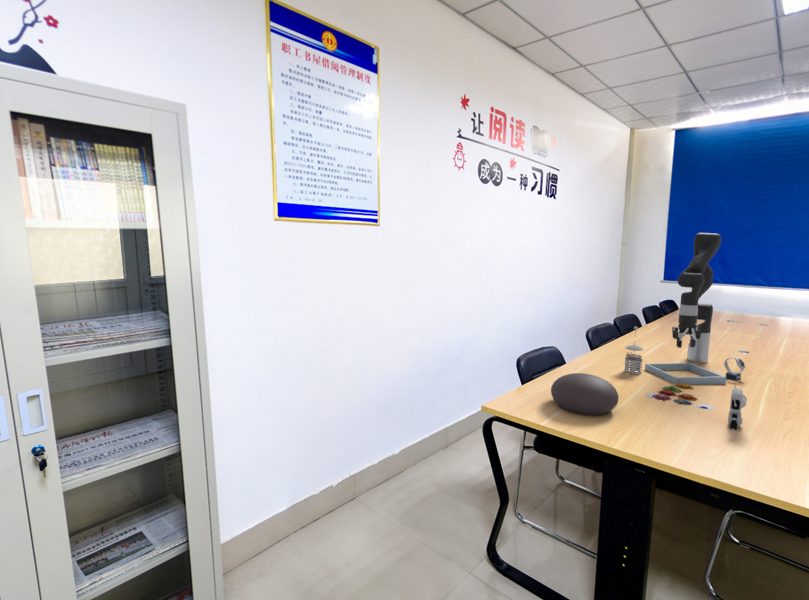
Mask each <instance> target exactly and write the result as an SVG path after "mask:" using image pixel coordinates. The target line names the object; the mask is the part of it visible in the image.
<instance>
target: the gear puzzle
mask: <svg viewBox="0 0 809 600" xmlns="http://www.w3.org/2000/svg"><path fill="white" fill-rule="evenodd" d="M661 389H662V390H659V391H657V394H653V395H651V397H652V398H655V399H654V400H657V401H659V400H663V401H662V402H666V401H671V400H672V401H673V403H676V404H679V405H683V406H692V405H693V402H697V401H699V399H697V397H695V396H694V395H692V394H690V393H682V392H683V391H682V390H691V391H692V390H695V388H694V387H693V386H691V384H683V383H682V384H681V383H680V384H674V385H670V386H664V387H661ZM680 393H681V394H680ZM671 397H677V399H676V398H674V399H672V398H671Z"/></svg>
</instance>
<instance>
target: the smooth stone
mask: <svg viewBox="0 0 809 600" xmlns="http://www.w3.org/2000/svg"><path fill="white" fill-rule="evenodd" d="M550 392H551V393H550V394H551V397H552V399H553V400H554V401H555V403H556V404H557V405H559V406H560V407H561V408H563V409H564V410H566V411H569V412H572V413H573V414H574V413H575V414H578V415H579V414H580V415H586V416H599V415H604V414H607V413H609V412H611V411H612V410H614V408H616V407H617V404H618V403H619V393H618V391H617V389H616V387H614V385H612V383H611V382H609V381H607V380H606V379H605V378H602V377H600V376H597V375H593V374H589V373H583V372H577V373H576V372H575V373H569V374H564V375H562V376H560V377H558V378H557V379H555V380H554V382H553V383H552V385H551V387H550Z"/></svg>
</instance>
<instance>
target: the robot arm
mask: <svg viewBox="0 0 809 600" xmlns="http://www.w3.org/2000/svg"><path fill="white" fill-rule="evenodd" d="M721 244H722V236H721V234H719V233H711V232H698V233H696V234H695V235H694V240H693V258H692V259H691V260H690V263H689V264H688V266H687V267H686V268H684V270H683V271H682V272H681V273H680V274H679V275H678V277H677V283H678V285H679V287H682V288H691V291H686V292H685V291H684V292H682V293H680V294H681V295H680V305H679V308H678V309H679V311H678V325H677V326H672V327H671V330H672V332H671V333H672V339H675V340H676V342H675V343H676V347H677V348H679V349H682V345H683V338H684V337H685V336H686V335H688V336H689V342H688V343H687V344H688V346H687V357H686V359H687V360H688V361H690V362H694V363H701V364H702V363H704V364H706V363H708V362H709V356H710V355H709V353H710V351H709V350H710V343H711V342H710V340H711V332H712V331H711V328H712V318H713V313H714V307H713V305H712V304H710V303H699V300H700V298H701V297H702V296H703V295H704V294H705V293H706V292H707V291H708V290H709V289H710V288H711V287H712V285H713V281H714V271H713V269H712V268H711V266H710V264H709V263H710V261H711V260H712V259H713V257H714V256H715V255H716V253H717V252H718V250H719V248H720V247H721ZM698 321H703V322H702V323H699V324H698Z"/></svg>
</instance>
